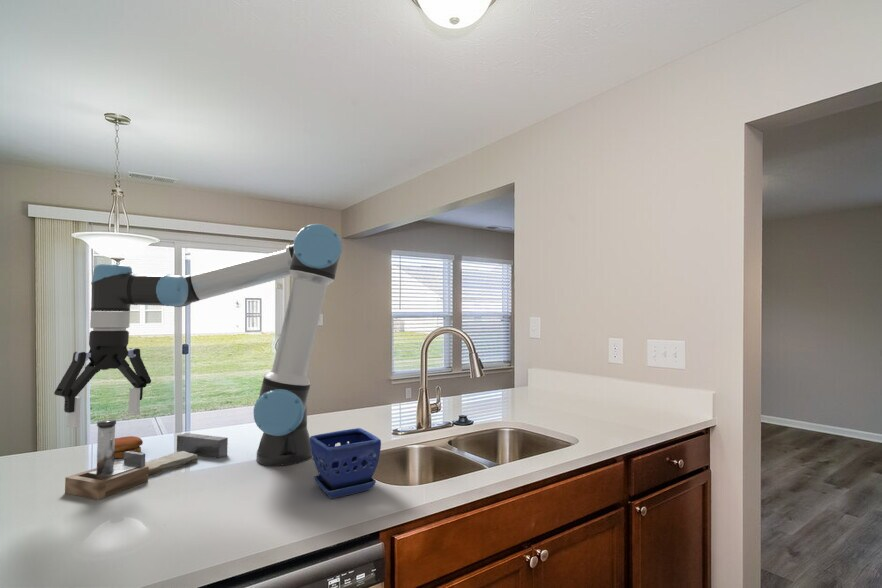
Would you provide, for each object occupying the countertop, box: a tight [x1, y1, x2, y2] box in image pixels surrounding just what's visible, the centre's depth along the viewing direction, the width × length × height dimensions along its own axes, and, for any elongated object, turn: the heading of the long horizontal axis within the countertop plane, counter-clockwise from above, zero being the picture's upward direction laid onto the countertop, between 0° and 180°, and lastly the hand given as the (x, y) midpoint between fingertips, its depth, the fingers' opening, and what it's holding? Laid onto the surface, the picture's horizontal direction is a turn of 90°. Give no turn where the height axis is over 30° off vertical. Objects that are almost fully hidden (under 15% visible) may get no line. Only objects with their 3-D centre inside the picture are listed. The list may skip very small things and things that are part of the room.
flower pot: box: [310, 427, 382, 499], centre depth 104 cm, size 13×13×12 cm
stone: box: [145, 451, 198, 476], centre depth 119 cm, size 15×11×3 cm
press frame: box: [64, 461, 149, 501], centre depth 105 cm, size 11×12×4 cm
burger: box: [114, 435, 144, 459], centre depth 130 cm, size 10×9×5 cm
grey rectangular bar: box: [176, 432, 229, 459], centre depth 129 cm, size 16×3×5 cm, turn 71°
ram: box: [88, 419, 146, 480], centre depth 107 cm, size 7×9×14 cm
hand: (105, 420), depth 104 cm, fingers open, 13 cm apart
